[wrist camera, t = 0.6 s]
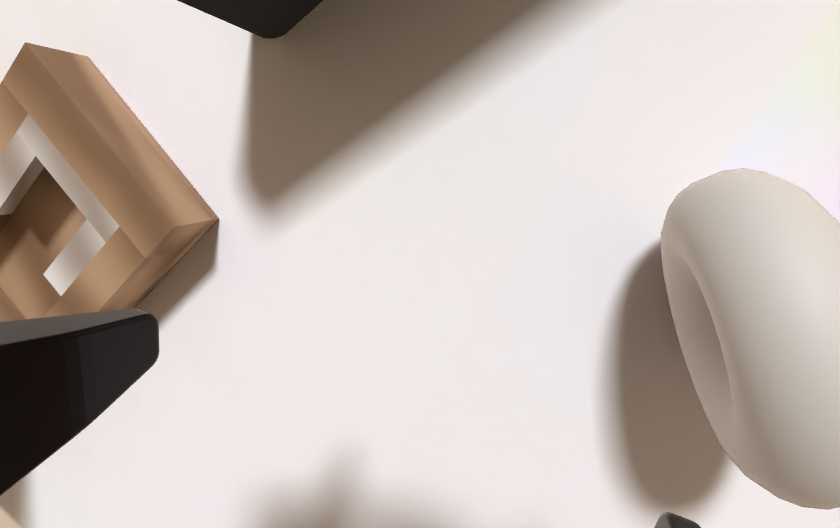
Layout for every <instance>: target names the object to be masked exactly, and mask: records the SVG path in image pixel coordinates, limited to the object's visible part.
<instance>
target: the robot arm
mask: <svg viewBox="0 0 840 528" xmlns="http://www.w3.org/2000/svg"><path fill="white" fill-rule="evenodd" d="M158 355H159V323H158V319H157V317H156V316H155V315H153V314H151V313H149V312H146V311H143V310H141V309H136V308H131V309H121V310H112V311H102V312H92V313H82V314H72V315H63V316H53V317H43V318H33V319H23V320H14V321H4V322H0V496H1V495H2V494H3V493H5V492H6V491H7V490H8V489H10V488H11V487H12V486H13V485H15V484H16V483H17V482H19V481H20V480H21V479H22V478H24V477H25V476H26V475H27V474H29V473H30V472H31V471H32V470H34V469H35V468H36V467H37V466H39V465H40V464H41V463H42V462H44V461H45V460H46V459H47V458H49V457H50V456H51V455H52V454H54V453H55V452H56V451H57V450H59V449H60V448H61V447H62V446H64V445H65V444H66V443H68V442H69V441H70V440H71V439H73V438H74V437H75V436H76V435H77V434H79V433H80V432H81V431H82V430H83V429H85V428H86V427H87V426H88V425H89V424H90V423H92V422H93V421H94V420H95V419H96V418H97V417H98V416H99V415H100V414H101V413H103V412H104V411H105V410H106V409H107V408H108V407H109V406H110V405H111V404H112V403H113V402H114V401H115V400H116V399H118V398H119V397H120V396H121V395H122V394H123V393H124V392H125V391H126V390H127V389H128V388H129V387H130V386H131V385H133V384H134V383H135V382H136V381H137V380H138V379H139V378H140V377H141V376H142V375H143V374H144V373H145V372H146V371H148V370H149V369H150V368H151V367H152V366H153V365H154V363H155V362H156V360H157V358H158ZM654 528H701V527H700V526H699V525H698V524H697V523H695V522H693V521H691V520H688V519H686V518H683V517H681V516H678V515H675V514H673V513H670V512H667V513H663V514H662V515H661V516H660V518H659V519H658V521H657V523H656V525H655V527H654Z"/></svg>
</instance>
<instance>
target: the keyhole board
mask: <svg viewBox="0 0 840 528" xmlns="http://www.w3.org/2000/svg"><path fill="white" fill-rule="evenodd" d="M218 219H219V218H218V217H217V216H216V215H215V213H214V212H213V211H212V210H211V208H210V207H209V206H208V205H207V203H206V202H205V201H204V200H203V198H202V197H201V196H200V195H199V193H198V192H197V191H196V190H195V189H194V187H193V186H192V185H191V184H190V182H189V181H188V180H187V179H186V177H185V176H184V175H183V174H182V172H181V171H180V170H179V169H178V168H177V166H176V165H175V164H174V163H173V161H172V160H171V159H170V158H169V156H168V155H167V154H166V153H165V151H164V150H163V149H162V148H161V146H160V145H159V144H158V143H157V142H156V140H155V139H154V138H153V137H152V135H151V134H150V133H149V132H148V130H147V129H146V128H145V127H144V125H143V124H142V123H141V122H140V120H139V119H138V118H137V117H136V116H135V114H134V113H133V112H132V111H131V109H130V108H129V107H128V106H127V104H126V103H125V102H124V101H123V99H122V98H121V97H120V96H119V95H118V93H117V92H116V91H115V90H114V88H113V87H112V86H111V85H110V83H109V82H108V81H107V80H106V78H105V77H104V76H103V75H102V73H101V72H100V71H99V70H98V69H97V67H96V66H95V65H94V64H93V62H92V61H91V60H90V59H89V57H87V56H83V55H78V54H74V53H69V52H65V51H61V50H56V49H52V48H47V47H43V46H39V45H34V44H30V43H25V44H24V45H23V47H22V49H21V50H20V52H19V54H18V55H17V57H16V59H15V60H14V62H13V64H12V65H11V67H10V69H9V71H8V72H7V74H6V76H5V77H4V79H3V81H2V82H1V84H0V322H4V321H14V320H23V319H33V318H43V317H53V316H63V315H72V314H82V313H92V312H102V311H112V310H121V309H131V308H135V307H136V306H137V305H138V304H139V303H140V302H141V301H142V300H143V299H144V297H145V296H146V295H147V294H148V293H149V292H150V291H151V290H152V289H153V288H154V287H155V286H156V285H157V284H158V283H159V282H160V281H161V279H162V278H163V277H164V276H165V275H166V274H167V273H168V272H169V271H170V270H171V269H172V268H173V267H174V266H175V265H176V264H177V263H178V261H179V260H180V259H181V258H182V257H183V256H184V255H185V254H186V253H187V252H188V251H189V250H190V249H191V248H192V247H193V246H194V245H195V243H196V242H197V241H198V240H199V239H200V238H201V237H202V236H203V235H204V234H205V233H206V232H207V231H208V230H209V229H210V228H211V226H212V225H213V224H214V223H215V222H216V221H217V220H218Z"/></svg>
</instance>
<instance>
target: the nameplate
mask: <svg viewBox="0 0 840 528" xmlns="http://www.w3.org/2000/svg"><path fill="white" fill-rule="evenodd" d="M178 1H180V2H182V3H185V4H187V5H189V6H192V7H194V8H196V9H198V10H201V11H203V12H205V13H208V14H210V15H212V16H215V17H217V18H219V19H221V20H224V21H226V22H228V23H231V24H233V25H235V26H238V27H240V28H242V29H244V30H247V31H249V32H251V33H254V34H256V35H258V36H261V37H263V38H269V39H270V38H277V37H280V36H282V35H284V34H286V33H287V32H288V31H289V30H290V29H291V28H292V27H294V26H295V25H296V24H297V23H298V22H299V21H300V20H301V19H303V18H304V17H305V16H306V15H307V14H308V13H309V12H310V11H312V10H313V9H314V8H315V7H316V6H317V5H318V4H319V3H321V2H322V1H323V0H178Z"/></svg>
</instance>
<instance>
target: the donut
mask: <svg viewBox="0 0 840 528" xmlns="http://www.w3.org/2000/svg"><path fill="white" fill-rule="evenodd" d="M661 256H662V265H663V274H664V279H665V285H666V290H667V295H668V300H669V305H670V309H671V313H672V317H673V321H674V325H675V329H676V333H677V337H678V340H679V343H680V346H681V350H682V353H683V356H684V360H685V362H686V365H687V368H688V371H689V374H690V377H691V379H692V382H693V385H694V388H695V390H696V393H697V395H698V397H699V400H700V402H701V405H702V407H703V409H704V412H705V414H706V417H707V419H708V421H709V423H710V425H711V427H712V429H713V431H714V433H715V435H716V437H717V439H718V441H719V442H720V444H721V446H722V447H723V448H724V450H725V451H726V453H727V454H728V456H729V457H730V458H731V460H732V461H733V462H734V463H735V465H736V466H737V467H738V468H739V469H740V470H741V471H742V472H743V474H744V475H745V476H747V477H748V478H750V479H751V480H753V481H754V482H755V483H757V484H758V485H760V486H761V487H763V488H764V489H766V490H767V491H769V492H770V493H772V494H773V495H775V496H776V497H778V498H780V499H782V500H785V501H788V502H791V503H793V504H796V505H799V506H801V507H807V508H818V509H832V508H837V507H840V224H839V223H838V221H837V220H836V219H835V218H834V217H833V216H832V215H831V214H830V213H829V212H828V211H827V210H826V209H825V208H824V207H823V206H821V205H820V204H819V203H818V202H817V201H816V200H815V199H814V198H813V197H812V196H811V195H810V194H809V193H808V192H806V191H805V190H803V189H802V188H800V187H798V186H796V185H794V184H792V183H790V182H788V181H785V180H783V179H780V178H778V177H775V176H773V175H770V174H768V173H765V172H762V171H756V170H750V169H744V168H743V169H734V170H726V171H721V172H719V173H716V174H714V175H711V176H709V177H706V178H704V179H701V180H699V181H697V182H694V183H692V184H690V185H689V186H688V187H686V188H685V189H684V190H683V191H681V192H680V193H679V194H678V195H677V196H676V198H675V199H674V201H673V202H672V204H671V205H670V207H669V209H668V212H667V215H666V218H665V220H664V224H663V228H662V232H661Z"/></svg>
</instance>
